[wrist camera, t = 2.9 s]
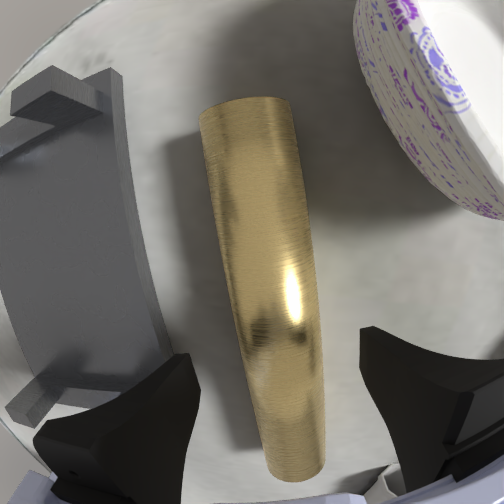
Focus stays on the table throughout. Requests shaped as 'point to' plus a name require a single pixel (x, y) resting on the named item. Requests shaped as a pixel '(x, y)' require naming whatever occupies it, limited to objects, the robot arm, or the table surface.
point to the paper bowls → (441, 90)
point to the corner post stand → (74, 246)
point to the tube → (387, 486)
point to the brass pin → (270, 275)
